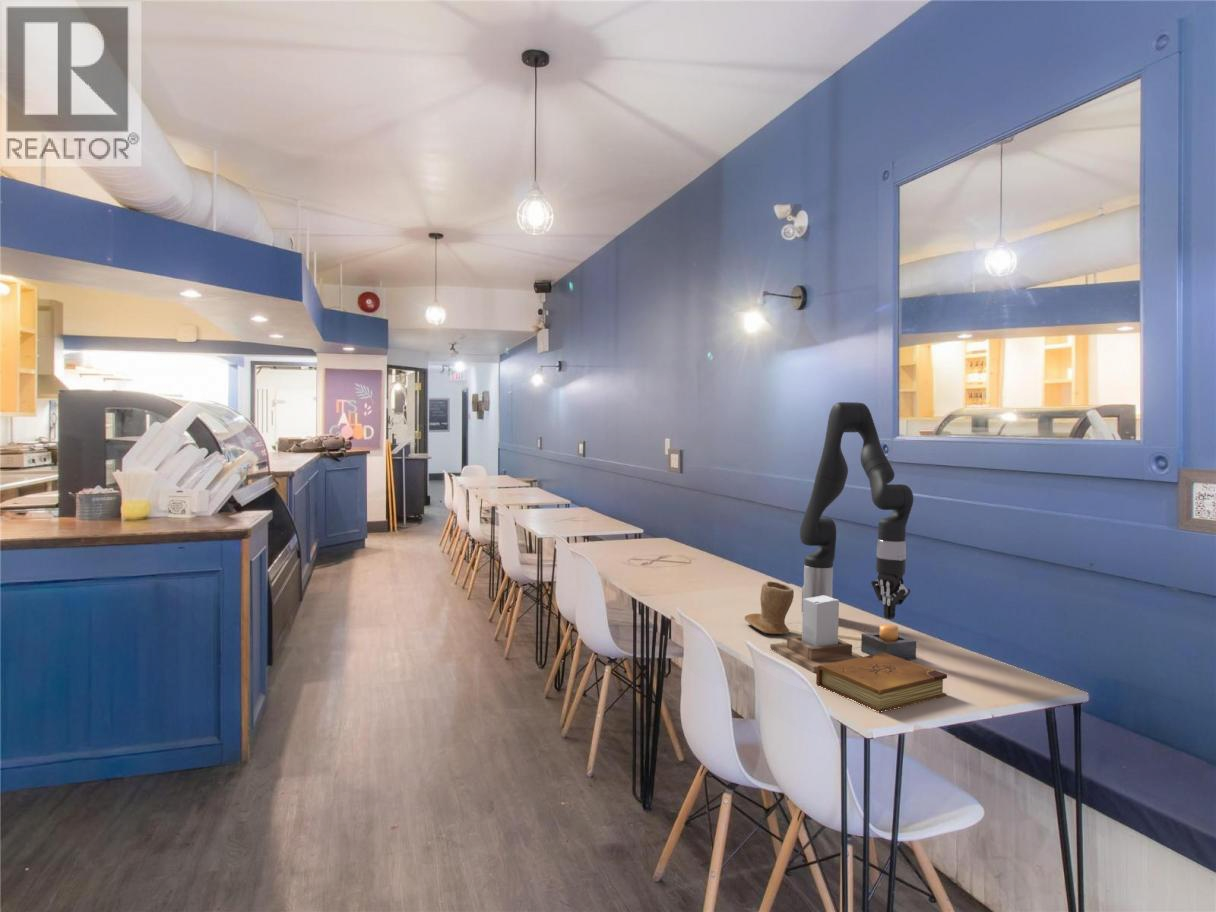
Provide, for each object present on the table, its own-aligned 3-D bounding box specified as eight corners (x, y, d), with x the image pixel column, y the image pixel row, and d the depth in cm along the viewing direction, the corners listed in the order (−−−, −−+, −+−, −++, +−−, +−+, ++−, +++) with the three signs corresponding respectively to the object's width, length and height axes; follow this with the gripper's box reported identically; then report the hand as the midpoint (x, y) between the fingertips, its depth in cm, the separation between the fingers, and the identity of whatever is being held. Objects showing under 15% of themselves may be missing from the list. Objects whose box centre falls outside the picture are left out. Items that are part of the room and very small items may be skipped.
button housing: (861, 651, 196) (861, 633, 196) (889, 648, 199) (890, 631, 199) (886, 662, 186) (886, 644, 186) (915, 659, 190) (916, 641, 190)
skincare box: (822, 647, 194) (824, 594, 194) (839, 653, 189) (840, 599, 188) (800, 650, 190) (801, 597, 190) (816, 657, 185) (817, 602, 185)
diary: (881, 673, 180) (882, 651, 179) (946, 698, 163) (947, 674, 163) (816, 687, 169) (816, 663, 168) (878, 715, 152) (879, 689, 152)
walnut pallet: (770, 649, 196) (770, 633, 196) (823, 643, 202) (823, 628, 202) (813, 672, 177) (814, 655, 177) (870, 665, 183) (871, 649, 183)
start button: (875, 639, 194) (875, 625, 194) (889, 637, 196) (889, 623, 196) (887, 644, 190) (888, 629, 189) (901, 642, 191) (902, 628, 191)
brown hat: (799, 636, 210) (800, 587, 209) (762, 637, 207) (763, 588, 207) (777, 622, 225) (778, 576, 224) (742, 624, 222) (744, 577, 222)
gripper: (863, 552, 197) (862, 613, 197) (897, 561, 184) (895, 625, 185) (884, 551, 199) (883, 611, 200) (919, 559, 187) (918, 623, 187)
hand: (889, 618), depth 192 cm, fingers closed
